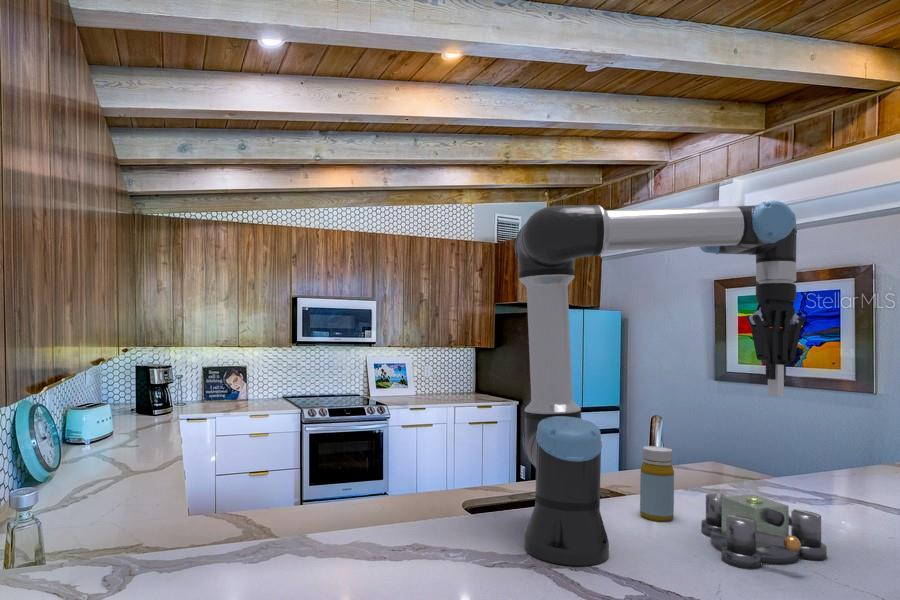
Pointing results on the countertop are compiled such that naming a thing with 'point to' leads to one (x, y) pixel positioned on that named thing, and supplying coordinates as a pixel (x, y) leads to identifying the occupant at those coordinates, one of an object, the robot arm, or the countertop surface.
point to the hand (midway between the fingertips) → (775, 395)
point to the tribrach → (768, 520)
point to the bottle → (657, 484)
